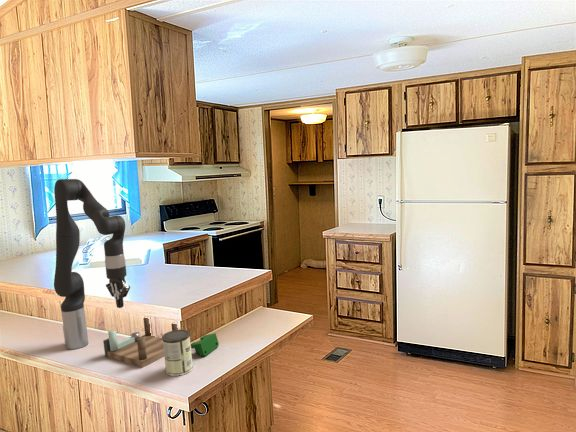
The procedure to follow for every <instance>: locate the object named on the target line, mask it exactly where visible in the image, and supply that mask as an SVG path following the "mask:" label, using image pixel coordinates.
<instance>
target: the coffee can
mask: <svg viewBox="0 0 576 432" xmlns="http://www.w3.org/2000/svg"><path fill="white" fill-rule="evenodd" d="M161 336H162V340H163V348H164V357H163V358H164V364H165V374H167V375H168V376H171V377H179V375H180V376H183V375H186V373H187V374H189V373H190V372H192V371H193V369H194V364H193V362H194V361H193V356H192V355H193V353H192V348H191V344H192V343H191V332H190V331H189V330H187V329H179V330H174V331H172V330H171V331H168V332H166V333H164V334H162V335H161ZM188 372H189V373H188Z"/></svg>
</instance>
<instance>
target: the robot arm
mask: <svg viewBox="0 0 576 432" xmlns="http://www.w3.org/2000/svg"><path fill="white" fill-rule="evenodd" d="M53 193H54V203H55V204H54V205H55V216H56V217H55V218H56V221H55V222H56V225H55V227H56V229H55V230H56V232H55V270H54V271H55V272H54V279H53V287H54V288H53V289H54V291H55V293H56V295H58V296H59V297H62V298H64V297H65V298H64V299H63V302H61V304H60V310H61V319H62V320H61V321H62V330H63V331H62V333H63V338H64V345H65V349H67V350H77V349H81V348H83V347H86V346H88V344H89V335H88V330H87V329H88V327H87V321H86V313H85V304H84V303H85V301H86V299H85V298H86V297H85V285H84V284H85V282H84V279H83V277H82V276H81V273H78V272H76V271H72V269H73V263H74V261H75V258H76V256H77V253H78V251H79V248H80V243H81V242H80V237H81V235H80V231H81V230H80V228H79V226H78V225H77V223H76V221H75V220H74V218H73V217H72V216H71V214H70V212H69V206H68V205H69V204H68V201H69V202H71V201H80V202H82V209H83V212H84V214H85V216H86V217H88V218H89V219H90V220H91V221H92V222H93V223H94V226H95V228H96V231H97V232H98V233H99V234H100V235H104V236H108V235H112V237H111V238H110V239H107V240H105V241H104V243H103V251H104V264H105V275H106V278H107V280H109V281H108V283H107V284H105V287H106V289H107V290H108V292H109V294H110V296H111V297H112V298H114V300H115V304H116V308H117V309H122V308H123V307H124V306H125V305H124V304H125V303H124V298H126V297H128V294H129V291H130V289H131V286H130V285H127V283H126V276H127V266H126V259H125V257H126V256H125V254H124V252H125V251H124V245H123V244H124V243H123V242H124V237H125V231H126V222H125V219H124V217H122V216H121V215H118V214H117V215H110V213H109V210H108V209H107V208H106V207H105V206H103V205H102V204H101V203H100V202H99V201H98V200H97V199H96V198H95V197H94V196H93V194H92V193H91V191H90V190H89V188H88V187H87V185H86V184H85V183H84V182H83V181H82V180H80V179H78V178H62V179H61V178H59V179H57V180H56V181H55V184H54V189H53Z"/></svg>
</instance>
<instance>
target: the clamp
mask: <svg viewBox="0 0 576 432" xmlns="http://www.w3.org/2000/svg"><path fill="white" fill-rule="evenodd" d="M219 343H220V342H219V340H218V337H217V334H216V332H214V333H210V334H209V333H208V334H205V335H203V336H200V338H199V340H198V341H195V342H192V343H191V349H194V350H195V353H196V354H199V356H200V357H204V356H205V357H206V356H208V355H209V354H210V353H212V352H213V351H214V350H215V349H217V348H218V347H219Z"/></svg>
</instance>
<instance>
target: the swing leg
mask: <svg viewBox="0 0 576 432" xmlns="http://www.w3.org/2000/svg"><path fill="white" fill-rule="evenodd" d="M107 334H108V338H109V343H110V351H117V350H118V349H120V348H122V347H124V346H126V345H129V344H131V343H133V342H136V341H137V339H139V338H140V337H141V336H140V332H139V331H135V332H132V333H131V336H129V337H128V338H125V339H122V340H120V341H118V337H117V331H116V330H114V329H113V330H109V331H107Z"/></svg>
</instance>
